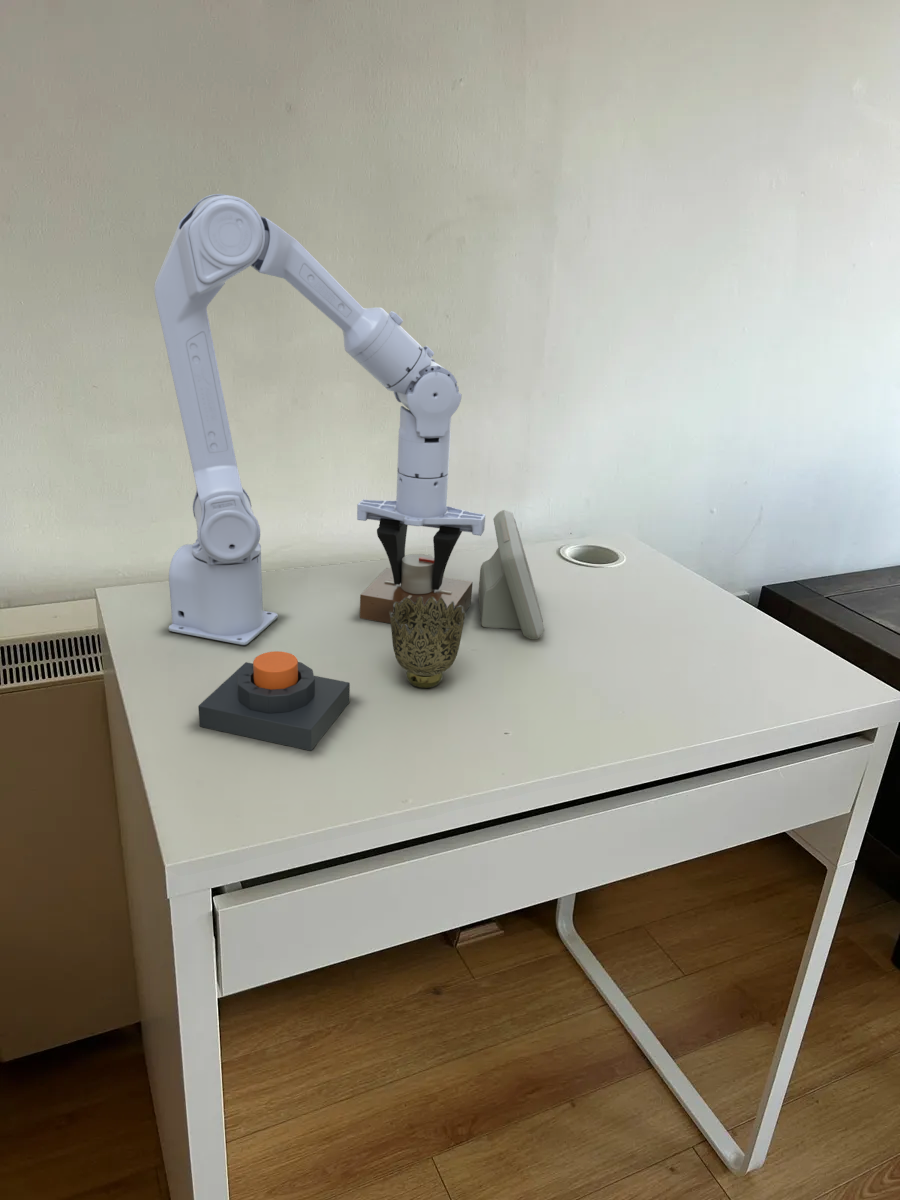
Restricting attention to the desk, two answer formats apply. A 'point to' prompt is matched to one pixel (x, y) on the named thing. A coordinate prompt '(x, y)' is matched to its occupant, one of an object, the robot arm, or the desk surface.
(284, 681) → the orange button cap
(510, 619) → the digital clock
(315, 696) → the button base
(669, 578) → the desk surface
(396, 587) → the dial panel
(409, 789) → the desk surface
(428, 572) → the dial
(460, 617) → the cup
